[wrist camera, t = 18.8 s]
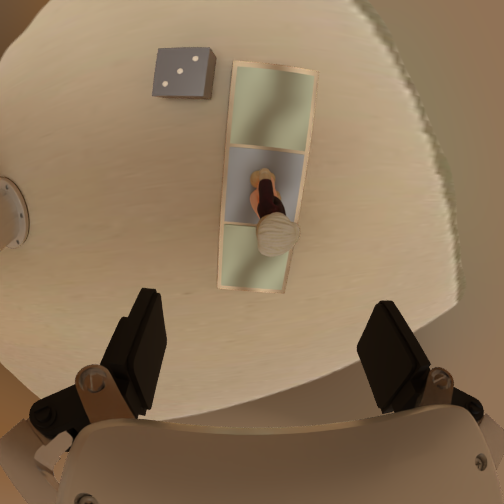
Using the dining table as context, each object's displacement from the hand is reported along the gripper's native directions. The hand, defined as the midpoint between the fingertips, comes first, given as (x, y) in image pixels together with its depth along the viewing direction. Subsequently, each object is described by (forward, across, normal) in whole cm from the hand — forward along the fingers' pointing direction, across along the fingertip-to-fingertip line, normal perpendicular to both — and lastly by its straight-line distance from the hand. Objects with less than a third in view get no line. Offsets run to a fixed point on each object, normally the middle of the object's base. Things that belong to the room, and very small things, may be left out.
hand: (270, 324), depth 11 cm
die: (+22, +8, -12) cm, 27 cm away
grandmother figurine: (+21, -2, 0) cm, 21 cm away
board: (+22, -1, 0) cm, 22 cm away
